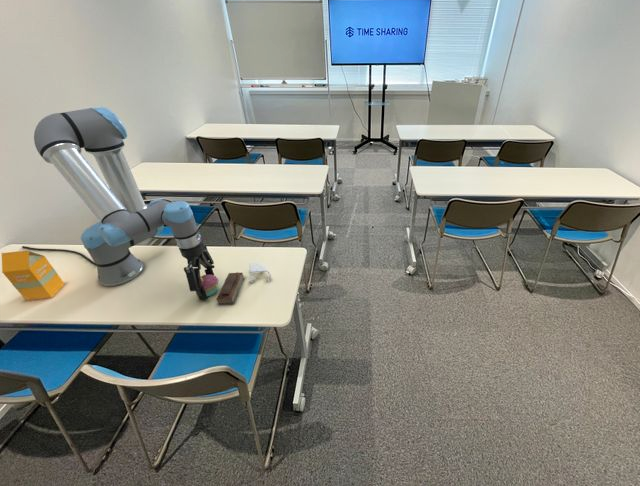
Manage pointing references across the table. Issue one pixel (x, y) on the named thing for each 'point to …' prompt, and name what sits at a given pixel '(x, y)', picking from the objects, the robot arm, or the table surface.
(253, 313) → the table surface
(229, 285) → the brown rectangular panel
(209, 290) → the cupcake
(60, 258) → the table surface
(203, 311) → the table surface
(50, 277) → the orange juice
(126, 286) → the table surface
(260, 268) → the origami figure
